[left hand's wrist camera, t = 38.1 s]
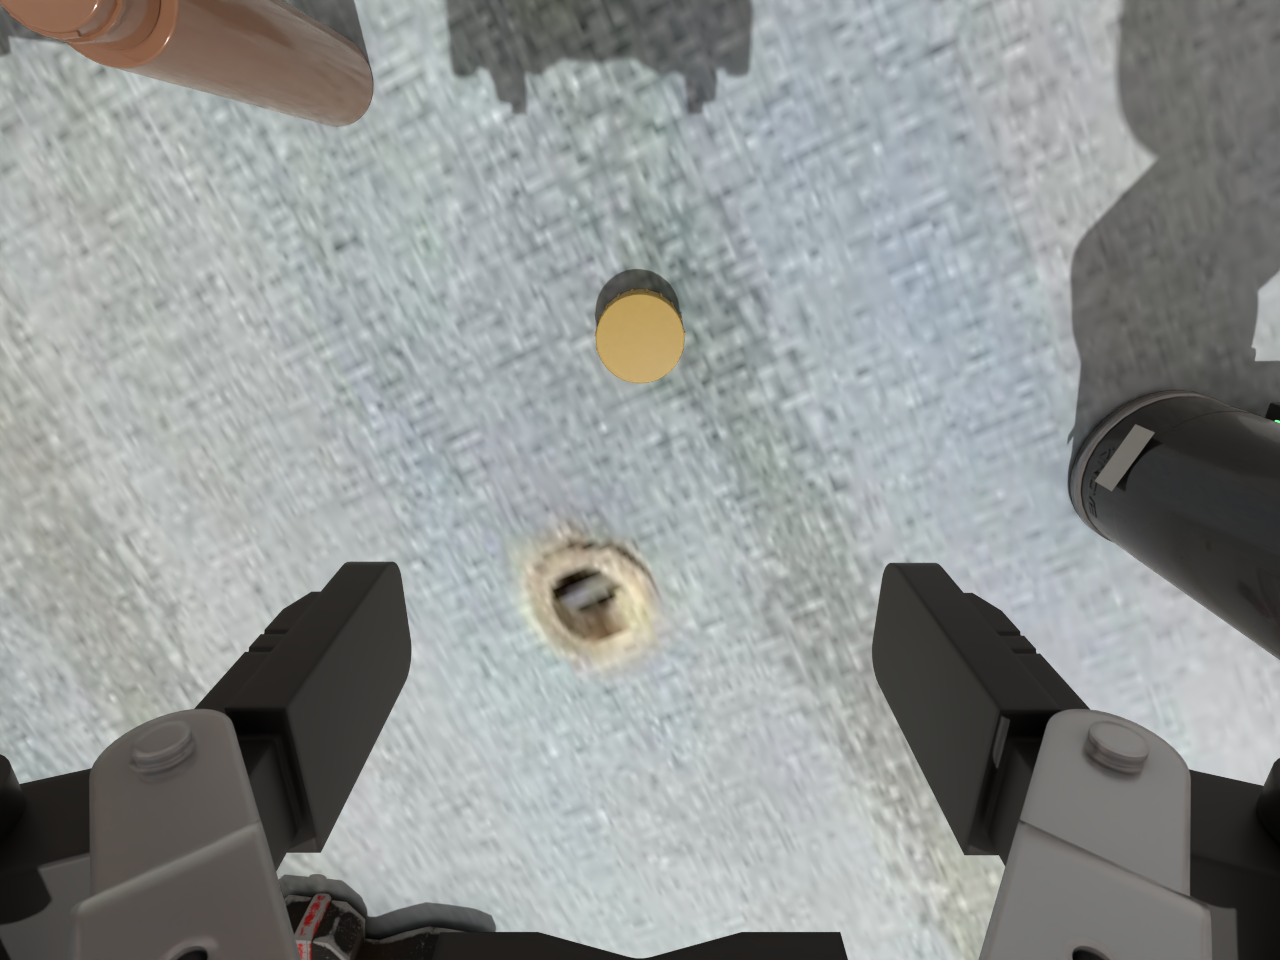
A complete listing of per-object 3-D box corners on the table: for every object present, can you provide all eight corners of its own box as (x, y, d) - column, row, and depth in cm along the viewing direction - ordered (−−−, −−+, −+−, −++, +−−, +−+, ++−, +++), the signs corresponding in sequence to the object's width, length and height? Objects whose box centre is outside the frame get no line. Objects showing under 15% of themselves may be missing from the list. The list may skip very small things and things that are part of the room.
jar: (277, 36, 32) (-82, -134, 16) (361, 25, 32) (80, -159, 16) (303, 131, 33) (-4, 61, 17) (382, 121, 33) (146, 40, 17)
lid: (581, 314, 37) (577, 321, 34) (657, 270, 36) (658, 274, 33) (623, 388, 38) (622, 400, 36) (697, 348, 37) (701, 357, 35)
